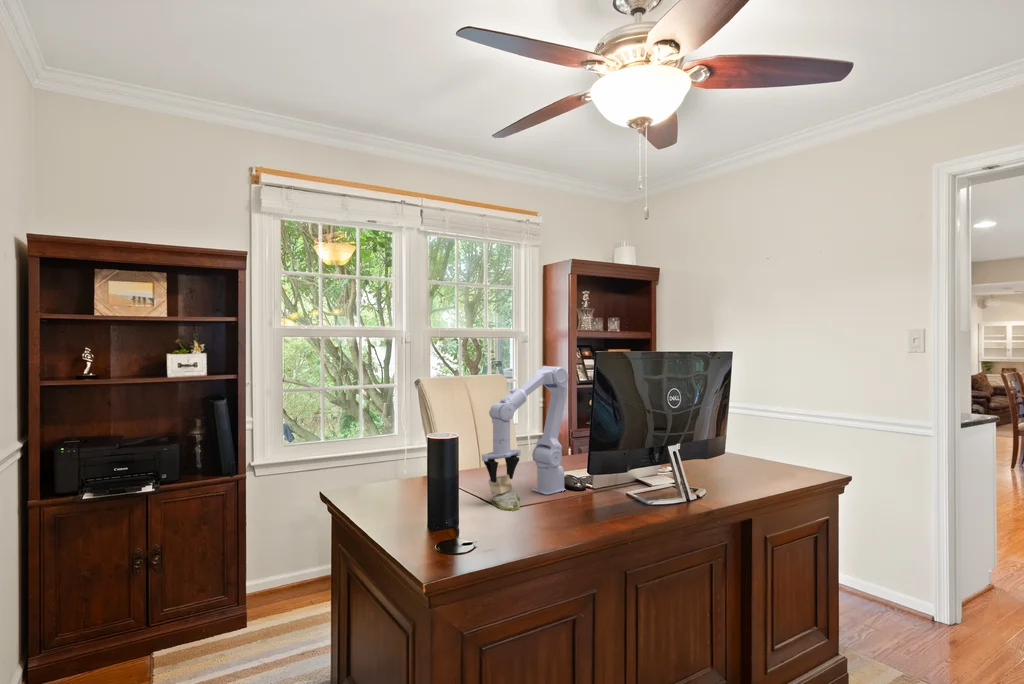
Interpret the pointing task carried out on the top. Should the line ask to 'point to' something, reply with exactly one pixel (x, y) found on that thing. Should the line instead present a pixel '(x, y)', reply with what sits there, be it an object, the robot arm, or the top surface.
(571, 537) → the top surface
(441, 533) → the top surface
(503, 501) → the decorative stone
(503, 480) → the beech block
